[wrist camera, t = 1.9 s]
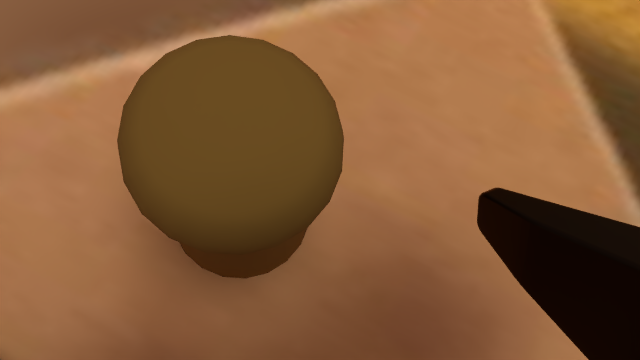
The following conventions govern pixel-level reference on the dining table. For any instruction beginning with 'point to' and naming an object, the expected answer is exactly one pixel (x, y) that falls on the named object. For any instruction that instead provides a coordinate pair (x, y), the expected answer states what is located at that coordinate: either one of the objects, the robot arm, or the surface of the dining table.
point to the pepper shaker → (231, 151)
